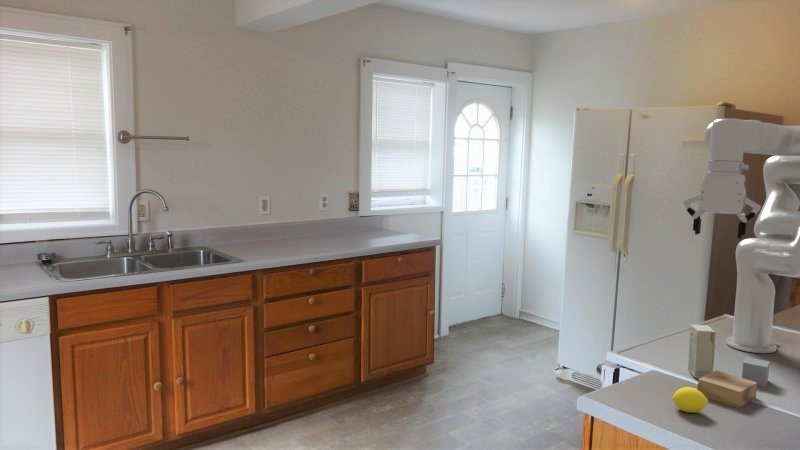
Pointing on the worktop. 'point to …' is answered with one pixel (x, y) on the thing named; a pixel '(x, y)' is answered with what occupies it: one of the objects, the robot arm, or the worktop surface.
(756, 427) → the worktop surface
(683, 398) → the lemon
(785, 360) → the worktop surface
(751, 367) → the grey block
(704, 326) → the skincare box
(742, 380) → the oak block
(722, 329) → the worktop surface
